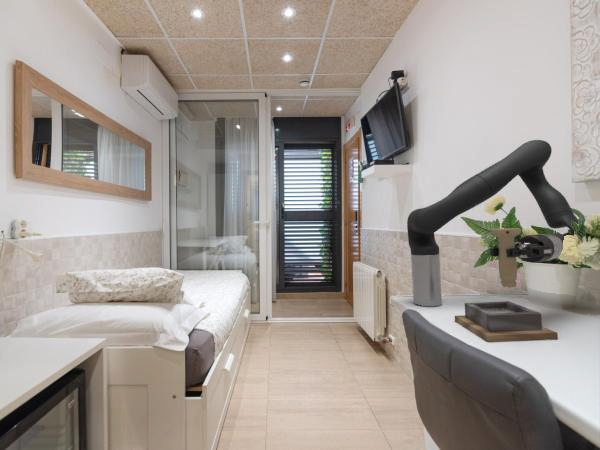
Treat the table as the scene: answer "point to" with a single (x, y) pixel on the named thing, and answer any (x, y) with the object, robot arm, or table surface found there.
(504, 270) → the handle
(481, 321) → the socket base
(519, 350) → the table surface
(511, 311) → the mottled stone tile
